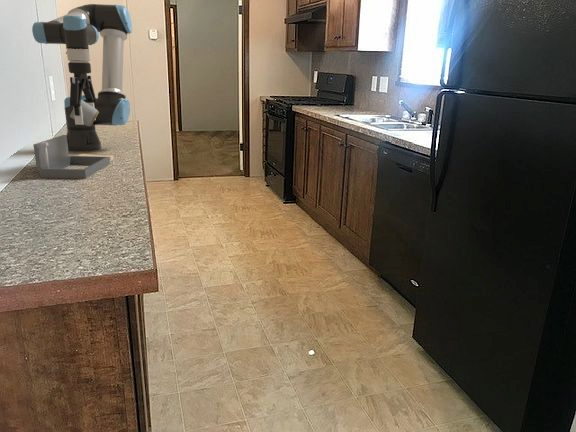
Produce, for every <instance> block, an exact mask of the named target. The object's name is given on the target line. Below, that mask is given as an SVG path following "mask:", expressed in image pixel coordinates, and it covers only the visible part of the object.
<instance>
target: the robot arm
mask: <svg viewBox="0 0 576 432" xmlns="http://www.w3.org/2000/svg"><path fill="white" fill-rule="evenodd" d="M31 31H32V36H33V38H34V40H35V42H36V43H38V44H45V45H48V44H50V45H51V44H52V45H55V44H56V45H65V49H66V51H65V55H67V56H66V57H67V61H69V62H68V63H67V66H68V72H69V73H70V74H73V76H70V77H69V82H70V91H69V92H70V93H69V96H68V97H66V98H65V99H64V103H63V104H64V107H63V110H64V112H65V113H64V114H65V123H66V132H67V133H66V135H67V144H68V151H72V152H73V151H75V152H77V151H78V152H80V151H81V152H84V151H85V152H86V151H94V150H99V149H102V142H101V140H100V137H99V135H98V133H97V129H96V126H114V127H116V126H124V125H125V124H127V123H128V121H129V118H130V111H131V104H130V100H129V99H128V98H127V97H126V95H125V93H124V92H123V81H124V79H123V78H124V77H123V76H124V75H123V73H124V42H125V41H126V40H127V39H128V35H130V34H132V31H133V26H132V18H131V16H130V12H129V10H128V8H127V7H126V6H125V5H119V4H98V3H97V4H95V3H87V4H83V5H81V6H77V7H75V8H72V9H70V10H69V11H68V12H67V13H66V14H64V15H62V16H60V17H57V18H55V19H51V20H50V21H46V22H45V21H37V22H34V23H33V25H32V28H31ZM100 37H101V38H102V39H103V40H102V73H101V90H99V91H98V92H97V96H96V93H95V90H94V86H93V83H92V76H91V75H88V74H91V73H92V67H91V66H92V65H91V63H90V62H91V55H90V49H89V46H92V45H95V44H96V43H97V42H98V40H99V38H100ZM81 100H83V101H84V102H86V103H87V104H89V105H90V106H92V107H94V108H95V109H97V110H98V112H99V113H98V115H97V117H96V119H95V120H94V122H93V124H92V125H91V126H86V125H84V123H83V114H82V106H80V104H81ZM73 109H74V117H75V119H73V118H71V117H70V114H71V112H72V111H73Z"/></svg>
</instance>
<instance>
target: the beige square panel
mask: <svg viewBox="0 0 576 432" xmlns="http://www.w3.org/2000/svg"><path fill="white" fill-rule="evenodd" d="M76 156H98V157H109V158H110V161H112V160H113V159H115V158H117V154H116V153H106V154H105V153H80V154H77V155H76Z"/></svg>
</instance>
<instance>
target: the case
mask: <svg viewBox="0 0 576 432" xmlns="http://www.w3.org/2000/svg"><path fill="white" fill-rule="evenodd" d="M32 146H33V150H34V152H33V153H34V159H35V166H36V169H37V170H38V171H39V179H40V178H41V179H83V180H86V179H88V178H89V176H90V177H91V176H93V175H95V174H96V173H98V172H99V170H100V171H101V170H103V169H105V168H106V167H108V166H110V165H111V160H110V158H109V157H98V156H77V155H70V154H69V150H68V144H67V134H62V135H58V136H56V137H52V138H50V139H47V140H43V141H40V142H37V143H34V144H33V145H32ZM109 164H110V165H109ZM72 165H87V167H85V168H67V167H69V166H72ZM88 165H89V166H88ZM97 171H98V172H97ZM94 173H95V174H94Z"/></svg>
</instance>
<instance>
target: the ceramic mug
mask: <svg viewBox="0 0 576 432" xmlns="http://www.w3.org/2000/svg"><path fill="white" fill-rule="evenodd" d="M80 106H82V114H83V123H84V125H86V126H91V125H92V124H93V122H94V120H95V119H96V117H97V115H98V113H99V112H98V110H97V109H95V108H94V107H92V106H90V105H89V104H87V103H86V102H84V101H83V100H81V104H80ZM70 117H71V118H73V119H75V117H74V109H73V111H72V112H71V114H70Z"/></svg>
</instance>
